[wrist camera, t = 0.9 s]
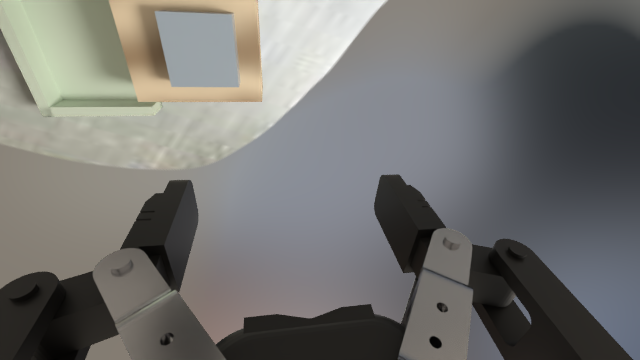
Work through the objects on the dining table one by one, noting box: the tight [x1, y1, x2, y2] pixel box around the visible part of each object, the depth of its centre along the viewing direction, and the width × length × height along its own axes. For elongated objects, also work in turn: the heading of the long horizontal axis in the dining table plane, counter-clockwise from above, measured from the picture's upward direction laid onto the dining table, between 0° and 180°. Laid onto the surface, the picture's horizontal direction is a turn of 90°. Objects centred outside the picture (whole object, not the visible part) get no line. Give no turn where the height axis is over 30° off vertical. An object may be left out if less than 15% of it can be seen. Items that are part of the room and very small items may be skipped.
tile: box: [155, 10, 241, 87], centre depth 26 cm, size 6×6×2 cm
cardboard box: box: [109, 0, 263, 102], centre depth 29 cm, size 10×12×6 cm
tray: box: [0, 0, 162, 117], centre depth 29 cm, size 14×11×3 cm
